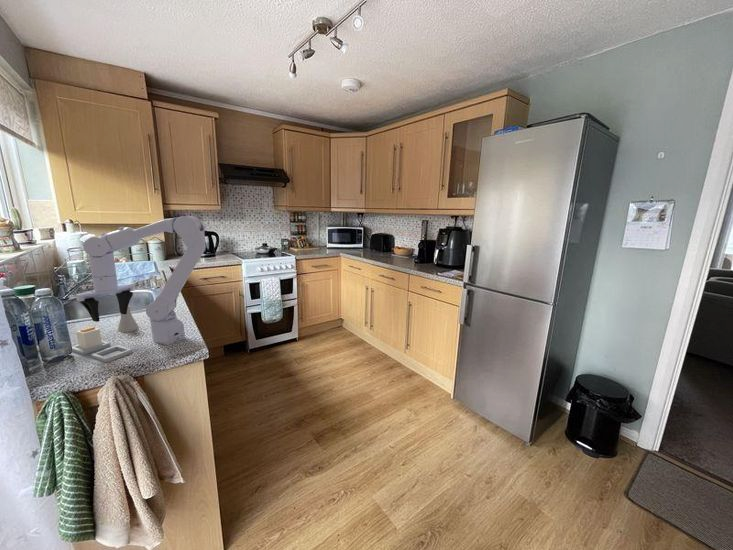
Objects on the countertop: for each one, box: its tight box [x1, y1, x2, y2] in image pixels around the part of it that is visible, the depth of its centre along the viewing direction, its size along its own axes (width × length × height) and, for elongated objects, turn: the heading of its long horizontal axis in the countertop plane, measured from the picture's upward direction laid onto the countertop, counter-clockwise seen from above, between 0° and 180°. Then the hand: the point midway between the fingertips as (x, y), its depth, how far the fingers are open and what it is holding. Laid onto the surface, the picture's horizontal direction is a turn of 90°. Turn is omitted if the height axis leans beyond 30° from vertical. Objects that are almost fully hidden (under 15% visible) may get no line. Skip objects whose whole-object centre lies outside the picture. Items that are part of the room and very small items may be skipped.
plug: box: [76, 326, 103, 350], centre depth 94 cm, size 4×4×7 cm
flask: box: [116, 304, 139, 333], centre depth 109 cm, size 7×7×10 cm
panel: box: [68, 339, 139, 366], centre depth 93 cm, size 18×10×2 cm, turn 68°
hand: (110, 317), depth 97 cm, fingers open, 7 cm apart
